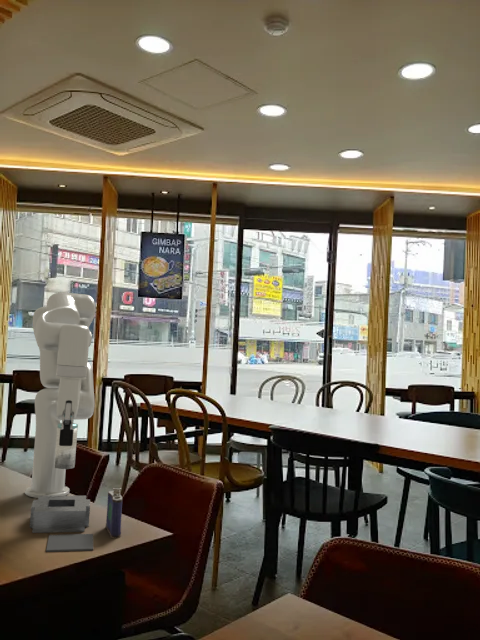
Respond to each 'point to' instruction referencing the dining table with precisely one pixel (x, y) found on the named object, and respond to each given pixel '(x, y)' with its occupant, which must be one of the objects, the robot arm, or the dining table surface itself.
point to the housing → (60, 514)
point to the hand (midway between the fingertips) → (66, 442)
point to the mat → (70, 542)
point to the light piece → (65, 451)
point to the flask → (114, 513)
